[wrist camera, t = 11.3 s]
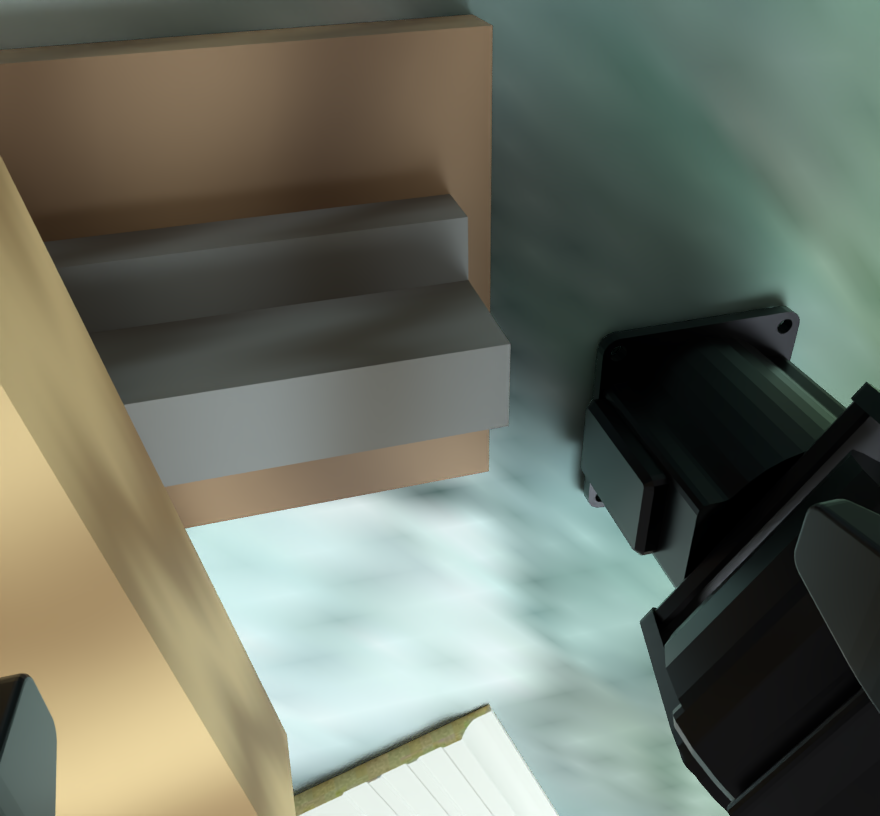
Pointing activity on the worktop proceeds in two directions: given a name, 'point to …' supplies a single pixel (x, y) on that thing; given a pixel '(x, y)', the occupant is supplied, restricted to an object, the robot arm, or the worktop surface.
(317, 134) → the ridge stand
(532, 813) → the baseboard molding
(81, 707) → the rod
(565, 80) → the worktop surface
